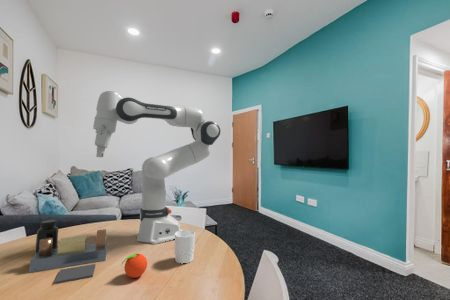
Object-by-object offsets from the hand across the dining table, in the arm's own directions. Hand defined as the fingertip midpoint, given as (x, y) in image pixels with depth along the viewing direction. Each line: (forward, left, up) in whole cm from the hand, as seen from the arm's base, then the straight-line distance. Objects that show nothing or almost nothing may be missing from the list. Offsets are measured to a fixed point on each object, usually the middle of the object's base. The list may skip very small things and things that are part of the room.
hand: (99, 157), depth 96 cm
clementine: (-14, +34, -39) cm, 53 cm away
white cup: (-32, +29, -39) cm, 58 cm away
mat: (+3, +25, -38) cm, 46 cm away
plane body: (+6, +14, -38) cm, 41 cm away
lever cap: (+6, +14, -35) cm, 38 cm away
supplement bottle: (+17, 0, -39) cm, 42 cm away
